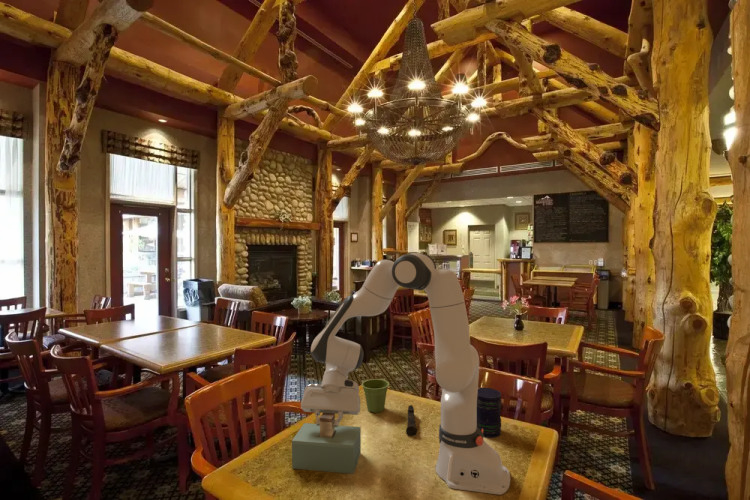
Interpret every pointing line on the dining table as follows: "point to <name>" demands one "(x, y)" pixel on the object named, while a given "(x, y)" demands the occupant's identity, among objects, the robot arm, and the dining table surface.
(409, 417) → the hand tool
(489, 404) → the storage jar
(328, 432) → the wooden block
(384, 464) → the dining table surface
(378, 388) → the plant pot
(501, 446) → the dining table surface
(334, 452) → the box with square hole
